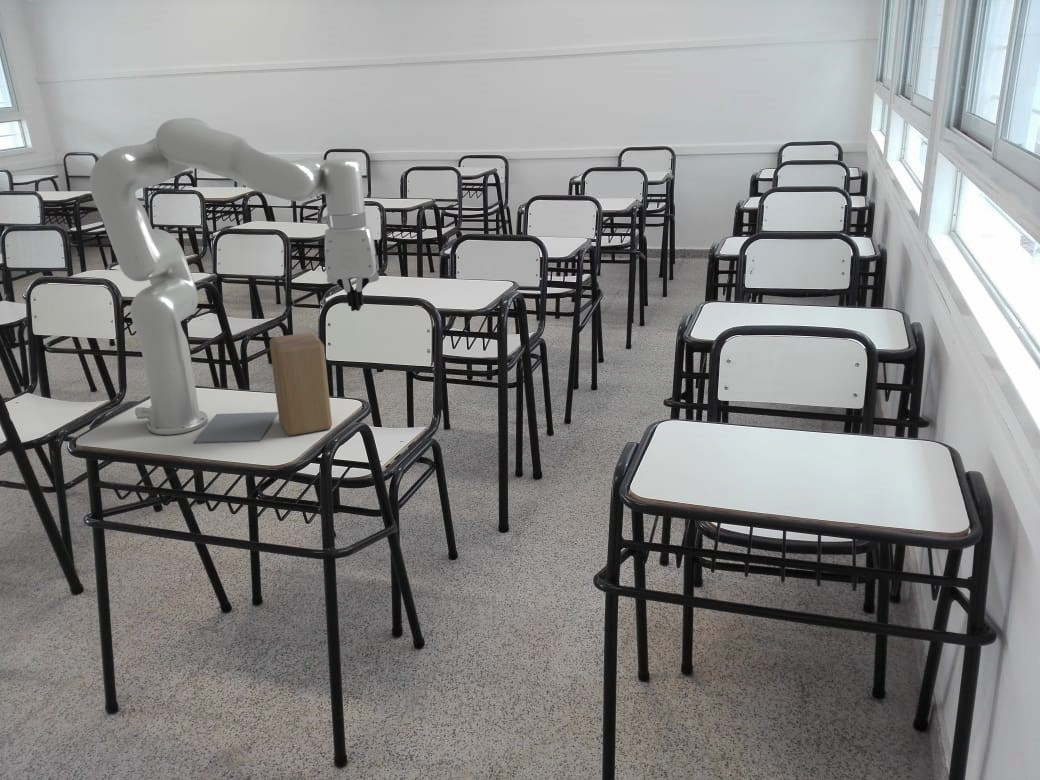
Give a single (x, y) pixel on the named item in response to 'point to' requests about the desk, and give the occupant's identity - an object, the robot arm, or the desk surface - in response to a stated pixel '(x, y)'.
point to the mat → (236, 427)
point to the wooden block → (301, 383)
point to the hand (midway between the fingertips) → (356, 309)
